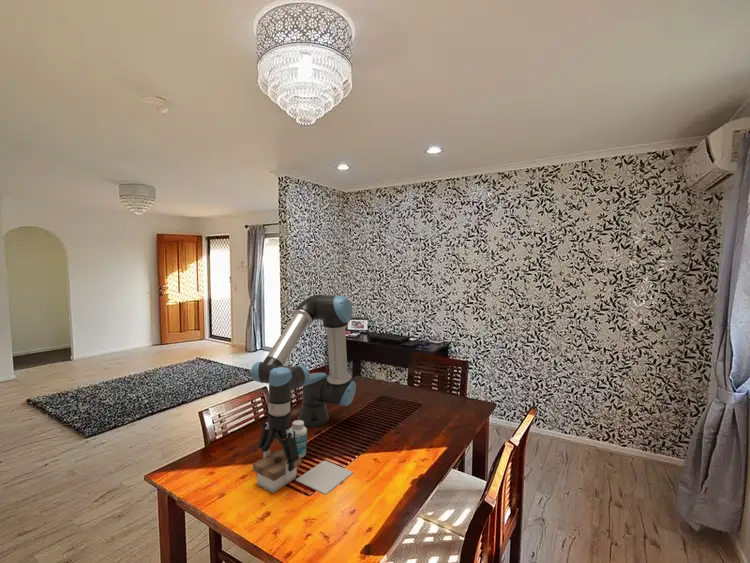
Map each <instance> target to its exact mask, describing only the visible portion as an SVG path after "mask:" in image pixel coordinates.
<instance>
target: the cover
mask: <svg viewBox="0 0 750 563" xmlns="http://www.w3.org/2000/svg"><path fill="white" fill-rule="evenodd" d="M290 458H291V457H290ZM302 458H303V457H300V456H299V460H297V461H295V462H294V468H296V467H297V468H298V467H299V466H300V465H302ZM286 462H287V458H286V455H285V453H284V450H283V448H280V449H278V450H276V451H274V452H273V453H272V452H271V454H270V455H268V456H267V457H265V458H261V459H259V460H257V461H255V462H253V464H252V472H254V473H258V474H260V475H262V476H264V477H266V478H268V479H270V480H272V481H275V480H277V479H278V478H280V477H281V476H283V475H285V469H286Z"/></svg>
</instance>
